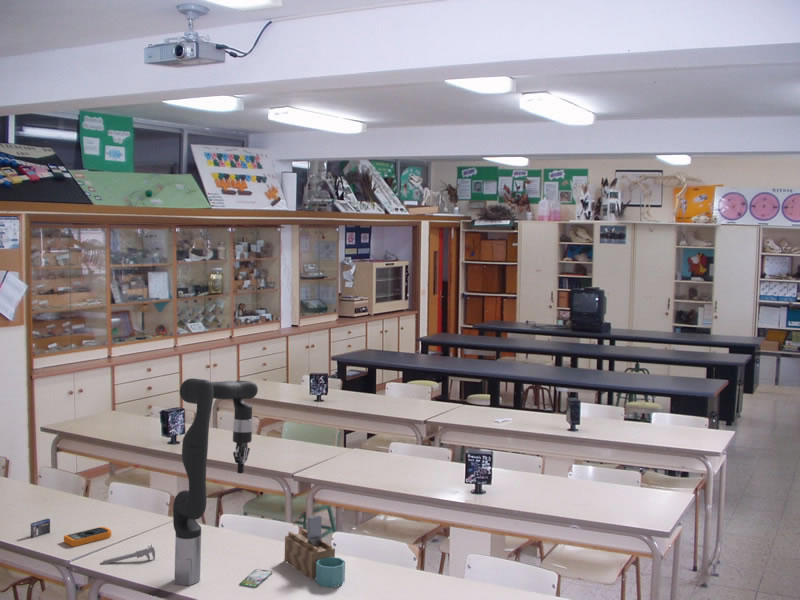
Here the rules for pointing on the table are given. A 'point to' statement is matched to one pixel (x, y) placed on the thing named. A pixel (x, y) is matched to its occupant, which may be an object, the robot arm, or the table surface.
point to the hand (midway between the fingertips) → (240, 472)
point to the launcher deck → (305, 553)
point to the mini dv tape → (40, 528)
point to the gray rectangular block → (314, 530)
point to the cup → (330, 571)
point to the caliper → (132, 555)
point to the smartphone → (256, 578)
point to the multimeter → (87, 536)
